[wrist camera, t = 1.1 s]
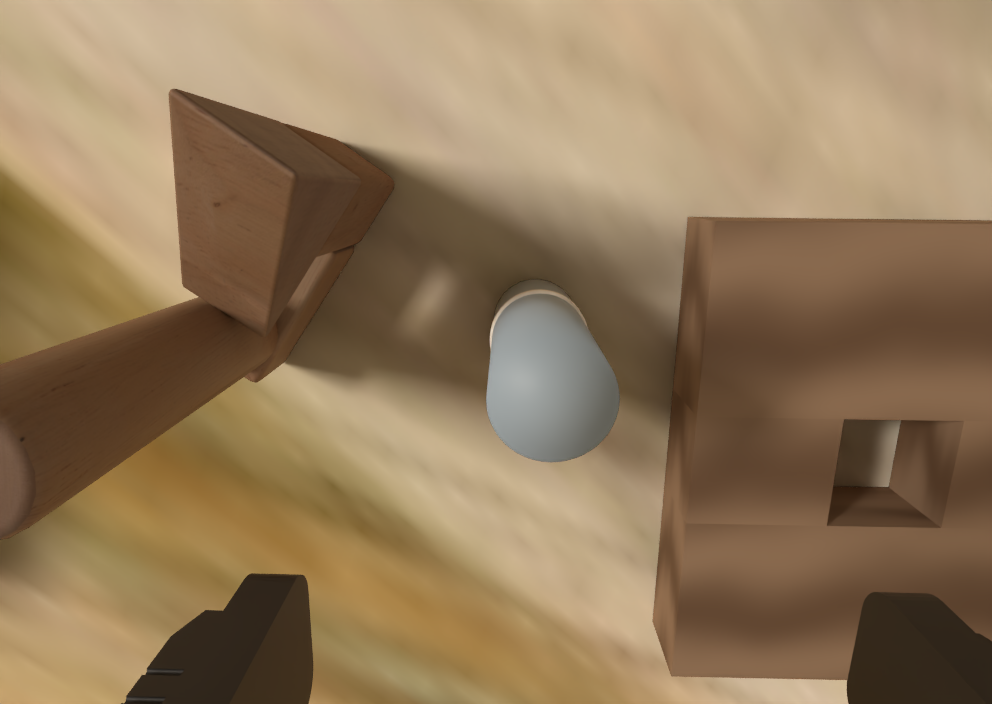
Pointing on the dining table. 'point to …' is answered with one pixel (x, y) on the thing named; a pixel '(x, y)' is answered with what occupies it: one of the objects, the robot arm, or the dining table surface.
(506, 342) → the peg
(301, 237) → the brown wedge-headed part
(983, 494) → the socket block
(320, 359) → the dining table surface
